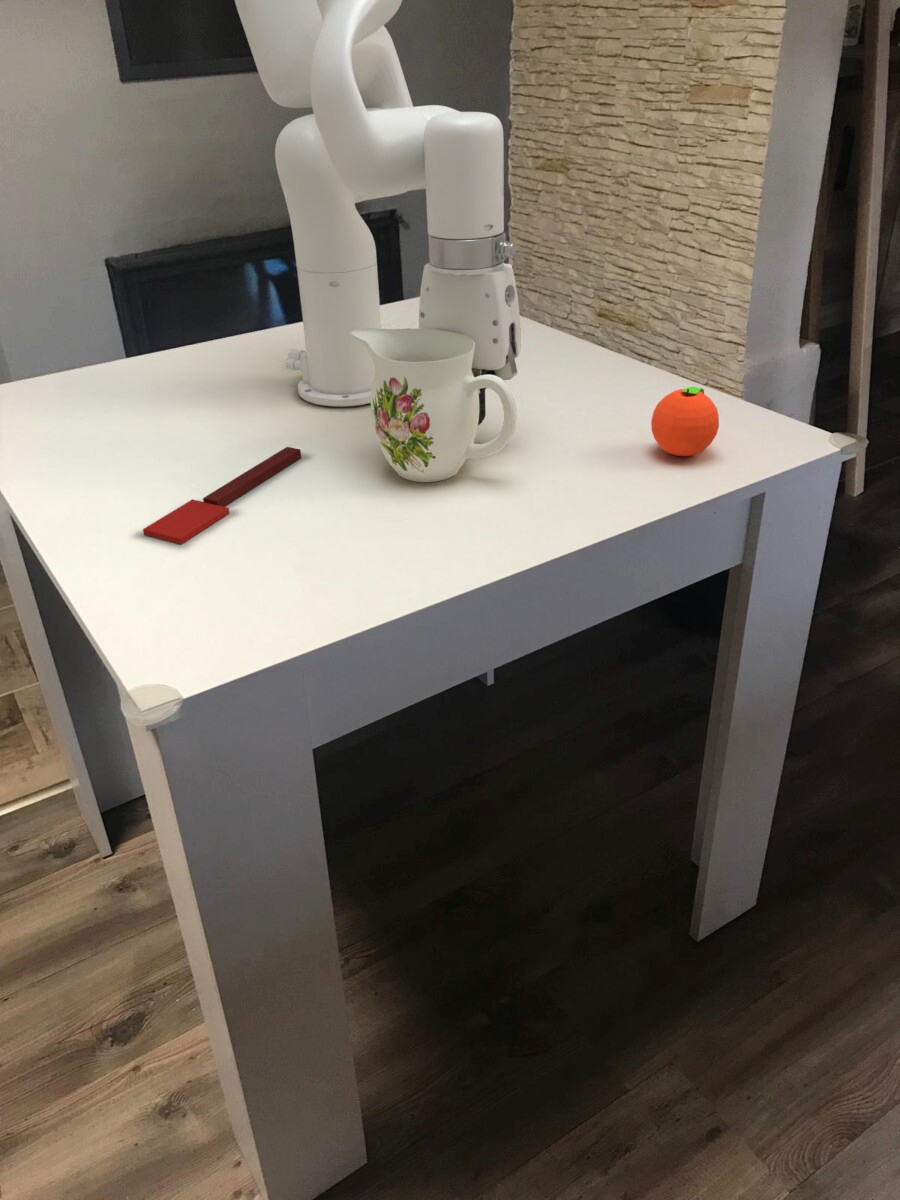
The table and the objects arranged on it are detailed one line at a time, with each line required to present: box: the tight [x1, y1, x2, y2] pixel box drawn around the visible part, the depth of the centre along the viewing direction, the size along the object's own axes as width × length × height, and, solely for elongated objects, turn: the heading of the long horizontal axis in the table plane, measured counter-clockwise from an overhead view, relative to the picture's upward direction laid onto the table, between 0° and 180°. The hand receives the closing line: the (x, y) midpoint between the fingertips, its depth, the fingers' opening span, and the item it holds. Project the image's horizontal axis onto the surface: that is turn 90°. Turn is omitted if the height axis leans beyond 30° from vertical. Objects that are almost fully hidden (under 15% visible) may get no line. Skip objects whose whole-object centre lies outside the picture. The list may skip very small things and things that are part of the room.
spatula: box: [142, 446, 302, 545], centre depth 97 cm, size 5×21×1 cm, turn 152°
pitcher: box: [351, 328, 517, 483], centre depth 97 cm, size 11×18×14 cm, turn 63°
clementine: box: [650, 386, 720, 457], centre depth 101 cm, size 8×7×7 cm
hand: (470, 425), depth 105 cm, fingers closed
